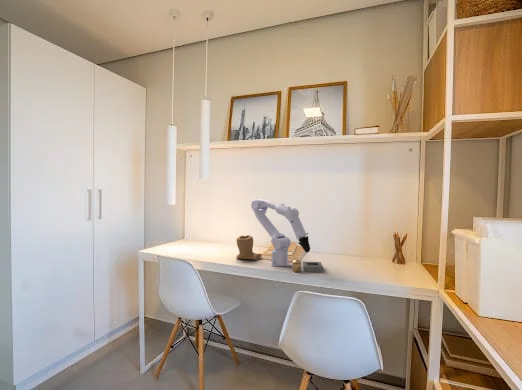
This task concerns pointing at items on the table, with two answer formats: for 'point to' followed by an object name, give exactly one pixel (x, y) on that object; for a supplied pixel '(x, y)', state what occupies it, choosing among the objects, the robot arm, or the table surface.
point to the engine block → (312, 267)
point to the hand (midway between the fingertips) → (308, 251)
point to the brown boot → (246, 248)
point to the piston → (296, 265)
